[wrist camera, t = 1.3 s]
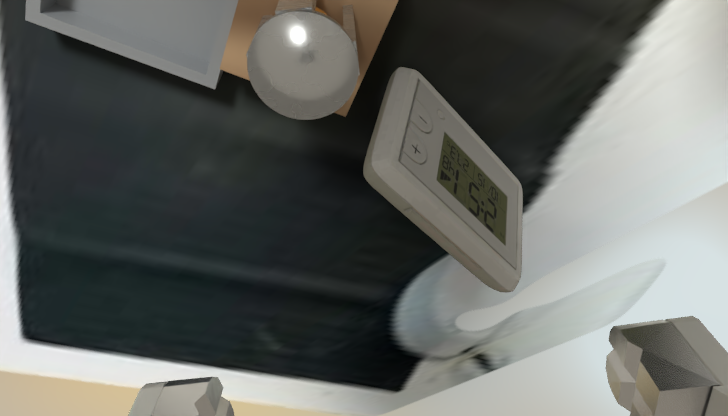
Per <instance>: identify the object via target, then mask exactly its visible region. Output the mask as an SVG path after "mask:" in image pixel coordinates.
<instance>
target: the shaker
mask: <svg viewBox="0 0 728 416" xmlns="http://www.w3.org/2000/svg"><path fill="white" fill-rule="evenodd" d="M316 1H317V0H279V2H278V5H277V7H276V10H275V14H276V15H274V16H273V15H265V16H263V17H262V19H261V21H260V24H259V26H258V28H257V30H256V33H255V35H254V37H253V40H252V42H251V44H250V47H249V49H248V51H247V54H246V56H247V70H248V75H249V78H250V81H251V84H252V86H253V88H254V90H255V92H256V93H257V95H258V96H259V97H260V99H261V100H262V101H263V102H264V103H265V104H266V105H267V106H269V107H270V108H271V109H273V110H274V111H276V112H278V113H279V114H282V115H284V116H287V117H290V118H294V119H299V120H312V119H318V118H322V117H325V116H328V115H330V114H332V113H334V112H335V111H337V110H338V109H339V108H341V107H342V106H343V105H344V104H345V103H346V102H347V101H348V99H349V98H350V96H351V95H352V93H353V91H354V89H355V86H356V84H357V79H358V75H360V72H359V61H358V51H357V41H356V31H355V23H354V14H353V6H352V5H344V6H343V27H342V26H341V25H340V24H339V23H338V22H337V21H336V20H334V19H333V18H331V17H330V16H328V15H326V14H324V13H321V12H318V11H315V8H316Z"/></svg>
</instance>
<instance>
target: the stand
mask: <svg viewBox="0 0 728 416" xmlns="http://www.w3.org/2000/svg"><path fill="white" fill-rule="evenodd" d="M278 2H279V0H238V3H237V7H236V11H235V14H234V18H233V21H232V25H231V29H230V32H229V36H228V40H227V43H226V47H225V51H224V54H223V58H222V61H221V65H220V70H223V71H226V72H228V73H231V74H234V75H236V76H239V77H241V78H244V79H247V80H249V81H250V78H249V75H248V70H247V56H246V54H247V51H248V49H249V47H250V44H251V42H252V40H253V37H254V35H255V33H256V30H257V28H258V26H259V24H260V21H261V19H262V17H263V16H265V15H273V16H274V15H276V14H275V10H276V7H277V5H278ZM397 3H398V0H317V1H316V7H317V8H319V9H321V10H322V11H324V12H325V13H326V14H327V15H328V16H330V17H331V18H333V19H334V20H336V21H337V22H338V23H339V24H340V25H341V26H342V27H343V6H344V5H352V6H353V14H354V23H355V31H356V41H357V51H358V61H359V72H360V75H358V79H357V84H356V86H355V89H354V91H353V93H352V95H351V96H350V98H349V99H348V101H347V102H346V103H345V104H344V105H343V106H342V107H341V108H339V109H338V110H337V111H335V112H334V113H337V114H339V115H342V116H344V117H346V115H347V113H348V111H349V108H350V106H351V104H352V102H353V100H354V97H355V95H356V93H357V91H358V89H359V86H360V84H361V82H362V80H363V78H364V75H365V73H366V71H367V69H368V67H369V64H370V62H371V60H372V58H373V56H374V53H375V51H376V49H377V47H378V45H379V42H380V40H381V38H382V36H383V34H384V31H385V29H386V27H387V25H388V22H389V20H390V18H391V16H392V14H393V11H394V9H395V7H396V5H397Z"/></svg>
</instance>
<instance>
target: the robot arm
mask: <svg viewBox="0 0 728 416" xmlns="http://www.w3.org/2000/svg"><path fill="white" fill-rule="evenodd" d="M609 342H610V343H611V345H612V347H613V348H614V349H613V351H611V352H610V353H609V354H608V355H607V361H606V372H607V377H608V382H609V385H610V388H611V390H612V392H613V395H614V397H615V399H616V400H617V402H618V404H620V405H621V406H623V407H624V408H626V409H627V410H629V411H630V412H631V414H630V416H728V353H727V352H726V350H725V349H724V348H723V347H722V346H721V345H720V343H718V341H717V340H716V339H715V338H714V337H713V335H712V334H711V333H710V332H709V331H708V330H707V328H706V327H705V326H704V325H703V324H702V323H701V321H700V320H699V319H697V318H695V317H693V316H689V317H681V318H674V319H666V320H657V321H650V322H642V323H635V324H627V325H620V326H614V327H613V328H612V329H611V331H610V336H609ZM222 390H223V386H222V384H221V382H220V380H219V379H218V377H206V378H196V379H186V380H175V381H168V382H159V383H149V384H146V385H145V386H143V387H142V388H141V389H140V391H139V393H138V395H137V397H136V399H135V401H134V404H133V406H132V408H131V410H130V412H129V414H128V416H234V412H233V408H232V406H231V404H230V401H228V400H226V399H225V398H223V397H221V394H222Z"/></svg>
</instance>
